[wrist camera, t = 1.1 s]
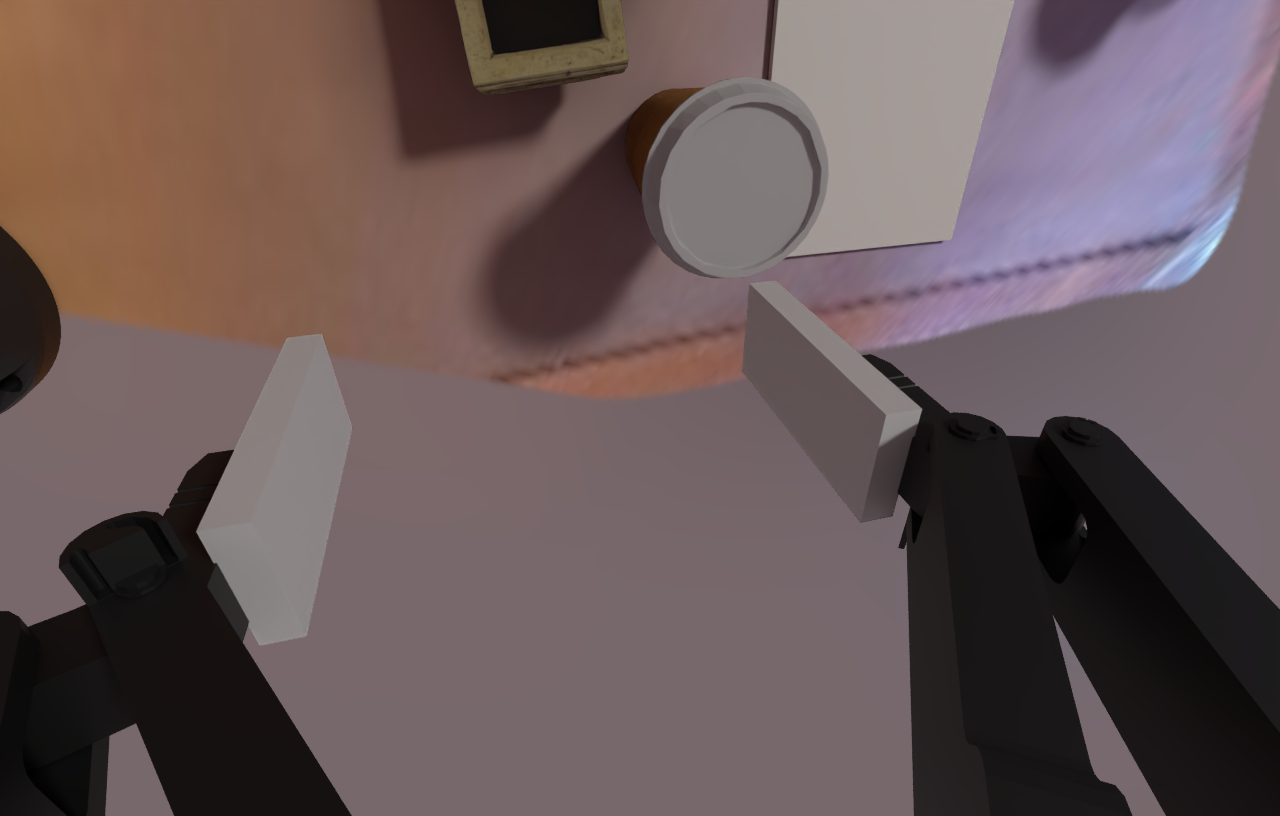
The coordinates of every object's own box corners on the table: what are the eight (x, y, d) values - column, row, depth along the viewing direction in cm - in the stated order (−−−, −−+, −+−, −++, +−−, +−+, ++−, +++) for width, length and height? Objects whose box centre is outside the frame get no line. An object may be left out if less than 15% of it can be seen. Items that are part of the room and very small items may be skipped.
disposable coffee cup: (568, 156, 39) (607, 210, 29) (670, 18, 36) (751, 27, 26) (676, 247, 44) (741, 320, 34) (773, 132, 41) (874, 175, 31)
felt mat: (752, 257, 45) (754, 260, 45) (775, -10, 37) (779, -10, 36) (947, 237, 48) (951, 239, 48) (1012, -13, 40) (1017, -13, 39)
